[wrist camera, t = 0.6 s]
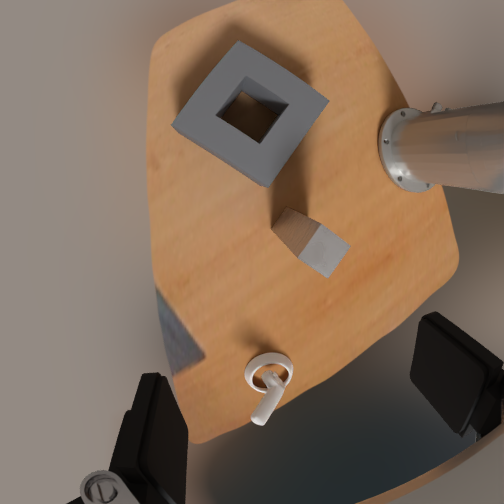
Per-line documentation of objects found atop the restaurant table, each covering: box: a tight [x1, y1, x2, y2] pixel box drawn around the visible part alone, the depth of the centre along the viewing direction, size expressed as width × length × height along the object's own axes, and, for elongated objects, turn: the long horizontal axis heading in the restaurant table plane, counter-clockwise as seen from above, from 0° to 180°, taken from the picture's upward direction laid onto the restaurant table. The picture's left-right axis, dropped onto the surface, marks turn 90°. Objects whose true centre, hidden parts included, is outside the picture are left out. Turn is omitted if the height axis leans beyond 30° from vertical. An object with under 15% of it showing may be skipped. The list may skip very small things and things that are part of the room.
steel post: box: [271, 207, 350, 278], centre depth 31 cm, size 4×4×13 cm
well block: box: [171, 40, 329, 188], centre depth 30 cm, size 12×12×6 cm
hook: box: [245, 353, 293, 425], centre depth 40 cm, size 8×12×7 cm
